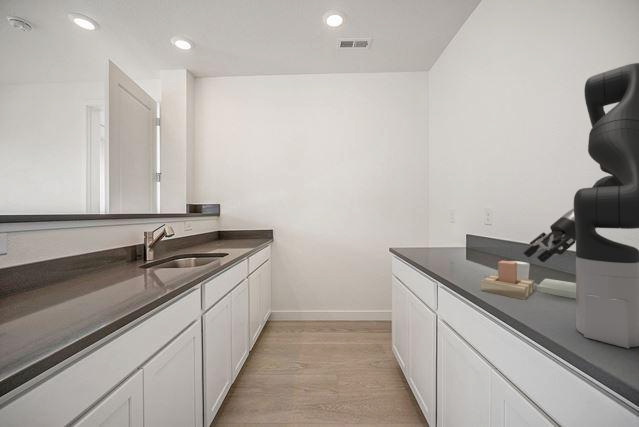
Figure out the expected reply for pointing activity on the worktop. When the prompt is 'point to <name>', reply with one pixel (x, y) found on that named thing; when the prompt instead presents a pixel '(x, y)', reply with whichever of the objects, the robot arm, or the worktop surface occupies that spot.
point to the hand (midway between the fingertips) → (532, 257)
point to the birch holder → (508, 287)
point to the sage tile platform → (558, 288)
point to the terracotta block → (507, 272)
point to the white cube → (522, 269)
